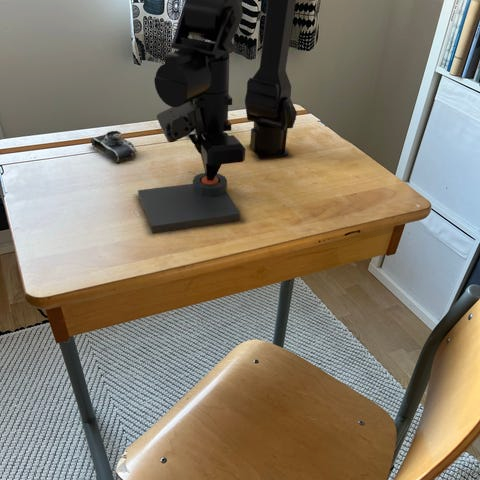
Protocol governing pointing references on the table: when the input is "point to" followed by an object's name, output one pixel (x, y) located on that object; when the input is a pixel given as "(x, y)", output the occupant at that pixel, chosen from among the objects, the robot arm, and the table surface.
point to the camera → (114, 146)
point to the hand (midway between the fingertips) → (210, 179)
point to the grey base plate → (188, 205)
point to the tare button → (207, 182)
